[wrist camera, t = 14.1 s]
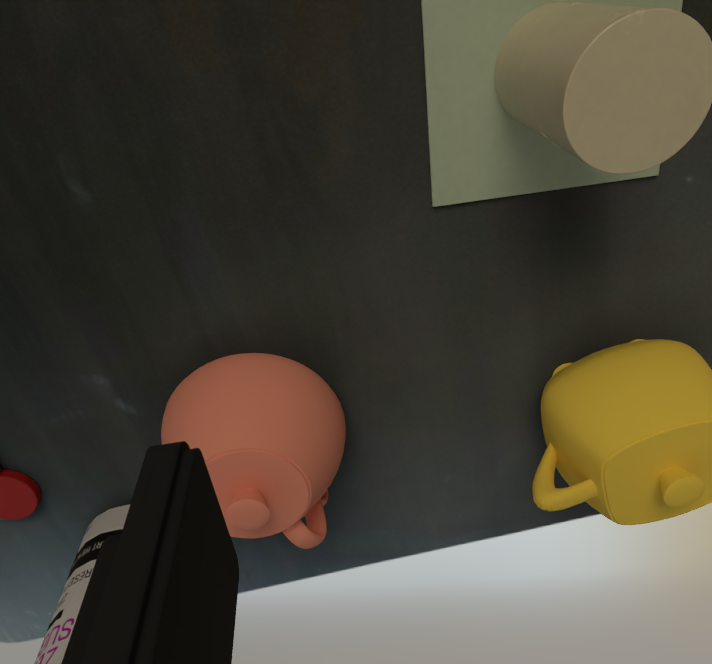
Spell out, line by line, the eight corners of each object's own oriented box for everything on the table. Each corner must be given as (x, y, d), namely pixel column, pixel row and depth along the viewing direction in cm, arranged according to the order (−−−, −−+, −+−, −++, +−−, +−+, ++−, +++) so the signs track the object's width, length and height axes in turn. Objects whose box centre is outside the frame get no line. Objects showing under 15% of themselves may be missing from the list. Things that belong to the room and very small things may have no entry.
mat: (417, -66, 30) (418, -67, 30) (694, -104, 30) (697, -104, 30) (432, 206, 37) (432, 207, 37) (656, 174, 37) (658, 175, 37)
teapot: (732, 284, 41) (858, 370, 32) (736, 403, 47) (845, 505, 38) (482, 370, 43) (532, 474, 34) (514, 474, 49) (565, 589, 39)
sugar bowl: (273, 302, 39) (266, 395, 30) (387, 435, 46) (408, 543, 37) (132, 395, 42) (88, 505, 33) (258, 508, 48) (250, 626, 39)
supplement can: (194, 569, 51) (158, 768, 38) (92, 568, 50) (20, 771, 37) (193, 499, 47) (154, 694, 34) (83, 496, 46) (-1, 696, 33)
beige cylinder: (494, 10, 32) (568, 20, 23) (614, -6, 32) (732, -3, 23) (494, 135, 35) (558, 184, 26) (602, 120, 35) (703, 164, 26)
